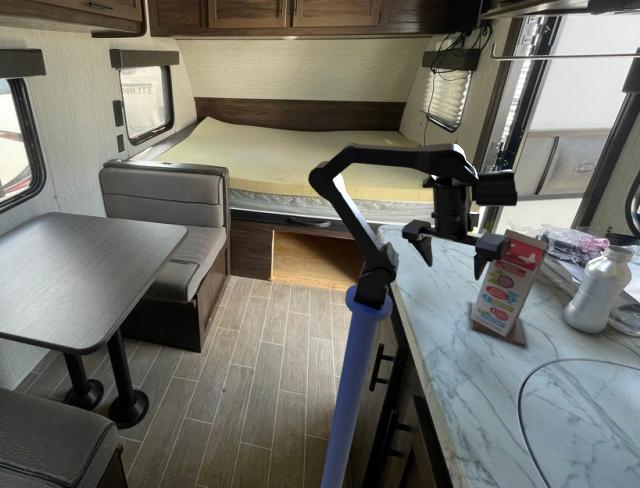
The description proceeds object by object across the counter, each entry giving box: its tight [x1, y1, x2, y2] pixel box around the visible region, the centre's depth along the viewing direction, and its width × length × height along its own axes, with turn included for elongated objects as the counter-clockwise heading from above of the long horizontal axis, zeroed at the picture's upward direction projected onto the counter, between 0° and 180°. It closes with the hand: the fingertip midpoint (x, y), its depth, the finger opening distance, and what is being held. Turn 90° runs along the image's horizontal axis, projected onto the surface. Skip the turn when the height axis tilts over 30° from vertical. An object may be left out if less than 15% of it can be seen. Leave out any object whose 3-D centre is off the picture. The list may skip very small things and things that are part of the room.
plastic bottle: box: [562, 244, 635, 334], centre depth 68 cm, size 6×7×20 cm
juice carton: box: [469, 228, 549, 337], centre depth 68 cm, size 7×7×22 cm
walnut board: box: [470, 302, 526, 348], centre depth 72 cm, size 9×9×1 cm
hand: (452, 272), depth 70 cm, fingers open, 9 cm apart
